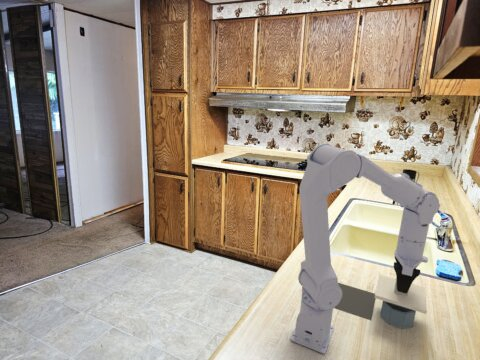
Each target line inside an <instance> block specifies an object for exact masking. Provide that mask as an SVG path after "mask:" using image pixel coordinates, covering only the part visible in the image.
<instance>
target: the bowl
mask: <svg viewBox="0 0 480 360" xmlns="http://www.w3.org/2000/svg"><path fill="white" fill-rule="evenodd" d="M416 312H417V311H415V310H412V309H408V308H405V307H402V306H399V305H396V304H392V303H389V302H386V301H383V300H382V303H381V310H380V314H379V316H380V317H381V319H383V320H384V321H385V323H387V324H388V325H391V326H394V327H396V328H399V329H401V330H402V329H409V328H413V326H414V323H415V322H414V321H415V318H416Z"/></svg>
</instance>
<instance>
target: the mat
mask: <svg viewBox="0 0 480 360" xmlns="http://www.w3.org/2000/svg"><path fill="white" fill-rule="evenodd" d="M338 285H339V286H340V288H341V290H342V298H341V301H340V302H339V304H338V305H337V306H336V307H335V308H334V309H336V310H338V311H342V312H344V313H347V314H351V315H353V316H357V317H360V318H362V319H364V320H365V319H366V320H369V321H372V319H373V313H374V309H375V304H376V300H377V299H376V298H374V297H375V292H371V291H368V290H364V289H361V288H357V287H354V286H350V285H348V284H344V283H341V282H338Z"/></svg>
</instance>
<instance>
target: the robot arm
mask: <svg viewBox="0 0 480 360" xmlns="http://www.w3.org/2000/svg"><path fill="white" fill-rule="evenodd" d="M306 163H307V165H306V167H305V171H304V173H303V176H302V179H301V182H300V184H299V199H300V212H301V223H302V224H301V225H302V234H303V244H304V245H303V246H304V248H303V249H304V255H305V256H304V258H305V259H304V260H303V261H301V262H300V271H299V274H298V276H297V277H298V278H297V279H298V284H300V286H301V297H300V298H301V301H300V308H299V313H298V314H297V317H296V321H295V328H294V330H293V332H292V334H291V335H290V339H289V341H291V342H294V343H296V344H298V345H301V346H304V348H305V347H306V348H308V349H311V350H313V351H314V352H315V351H316V352H317V353H318V352H319V353H320V354H326V353H327V349H328V347H329V344H330V341H331V339H332V336H333V333H334V330H335V326H333V325H332V319H333V312H334V309H335V307H336V306H337V305H338V304H339V302H340V301H341V298H342V290H341V288H340V286H339V285H338V283H339V281H338V276H337V274H336V272H335V270H334V268H333V266H332V259H331V258H332V257H331V243H330V241H331V240H330V227H329V225H330V224H329V223H330V222H329V211H328V210H329V208H328V197H329V196H330V194H333V193H334V192H336V191H338V190H339V189H341V188H342V187H343V186H345V185H347V184H348V183H350V182H351V181H353V180H354V179H355V178H357V179H360V178H361V177H363V178H365V179H366V180H368V181H371V182H372V183H374V184H376V185H378V186H380V190H381V193H382V195H383V196H385V197H387V198H388V199H390V200H392V201H393V202H395V203H397V204H398V205H399V206H400V207H401V208H403V209H402V215H401V221H400V225H399V226H400V227H399V231H398V236H397V237H398V238H397V243H396V248H395V250H394V254H393V255H394V260H395V261H393V269H394V272H395V276H396V277H397V291H399V292H402V293H406V294H407V292H408V290H409V288H410V286H411V284H413V283H414V281H415V280H416V279H417V277H419V276H420V274H421V269H418V267H419V265H421V263H424V264H425V263H428V261H429V260H428V259H429V257H427V256H424V251H425V247H426V242H427V236H428V233H429V232H428V231H429V227H430V224H432V222H433V220H434V217H435V215H436V214H437V213H438V212H439V210H440V207H441V204H440V199H439V198H438V196H437V194H436V193H434V192H432V191H428V190H426V189H424V188H423V187H424V186H423V185H422V184H421V183H418V182H417V183H414V182H412V181H411V180H409V179H408V178H409V176H408V175H407V174H404V173H403V172H393V173H391V174H390V173H389V172H388V171H386V170H385V169H384V168H382V167H381V166H379V165H377V163H375V162H373V161H372V160H371V159H369V158H368V157H366V156H364V155H362V154H360V153H357V152H356V151H354V150H352V149H345V148H340V147H337V146H334V145H332V144H329V143H321V144H318V145H317V146H316V147H315V148H314V149H313V150H311V152H310V153H309V154H308V155H307V156H306ZM396 277H395V278H396Z"/></svg>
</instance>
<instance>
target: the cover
mask: <svg viewBox="0 0 480 360" xmlns="http://www.w3.org/2000/svg"><path fill="white" fill-rule="evenodd" d="M426 290H427V289H426V287H425V286H423V285H419V284H414V283H412V284H411V286H410V288H409V290H408V292H407V294H406V293H402V292H399V291H397V277H395V278H394V277H390V276H387V275H382V274H378V278H377V283H376V289H375V292H374V293H375V297H374V298H376V300H380V301H382V302H383V301H386V302H389V303H392V304H396V305H399V306H402V307H405V308H408V309H412V310H415V311H416V312H418V313H421V314H425V315H427V313H428V307H427V292H426Z"/></svg>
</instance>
